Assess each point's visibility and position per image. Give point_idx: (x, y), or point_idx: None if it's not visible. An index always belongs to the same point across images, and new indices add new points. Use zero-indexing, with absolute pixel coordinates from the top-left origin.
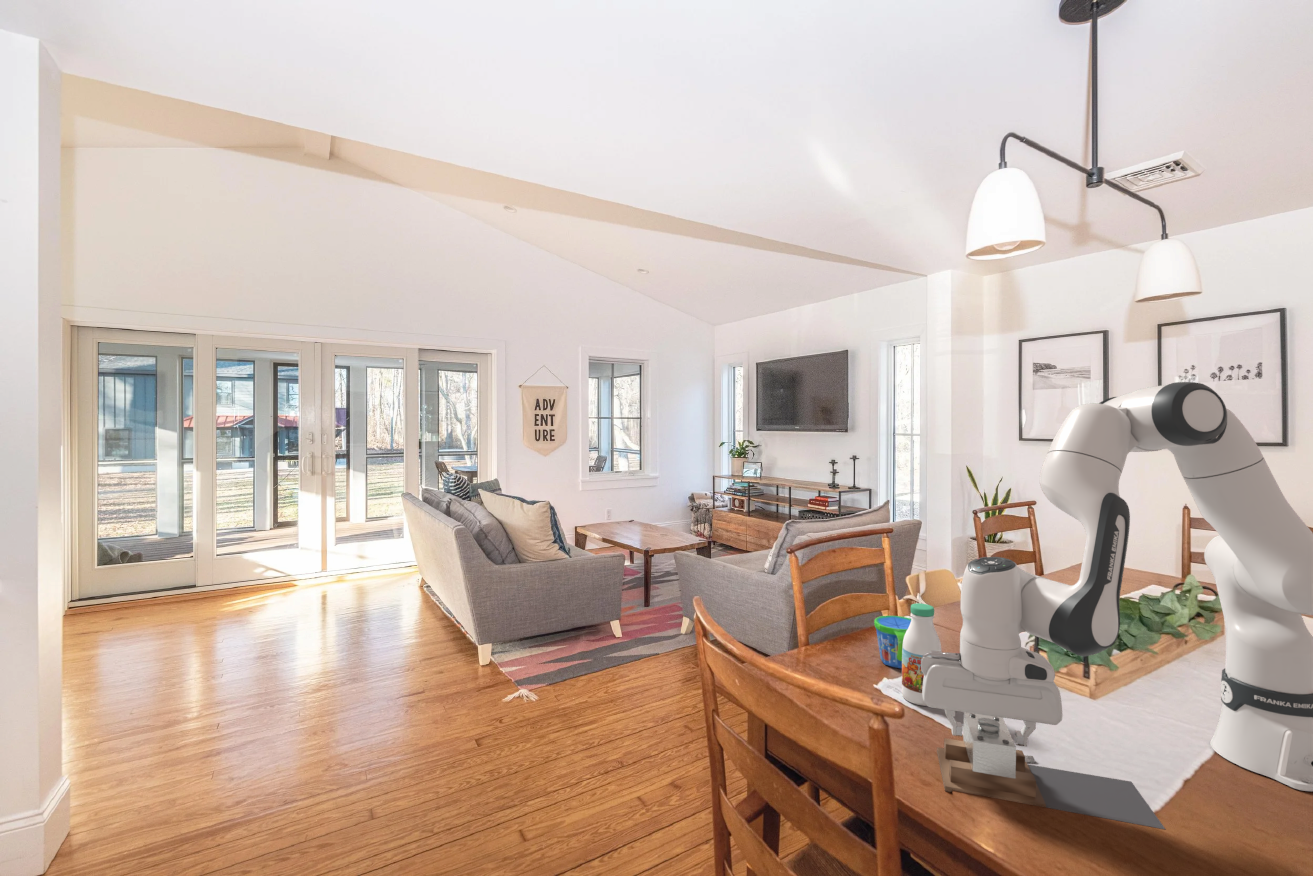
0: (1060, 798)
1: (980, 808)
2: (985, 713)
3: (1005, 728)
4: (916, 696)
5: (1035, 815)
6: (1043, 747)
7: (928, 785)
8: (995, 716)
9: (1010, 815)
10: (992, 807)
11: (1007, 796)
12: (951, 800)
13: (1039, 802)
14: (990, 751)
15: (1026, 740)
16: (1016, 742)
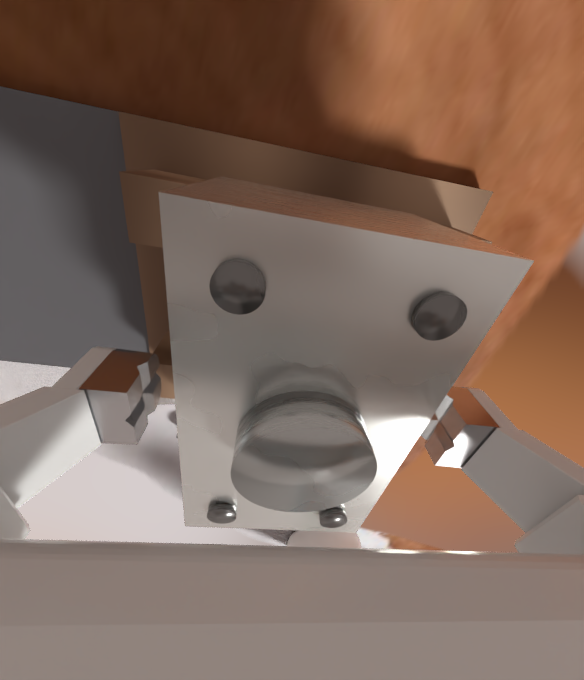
0: (62, 199)
1: (404, 71)
2: (421, 583)
3: (192, 453)
4: (346, 544)
5: (179, 52)
6: (104, 448)
7: (517, 219)
8: (290, 550)
9: (292, 27)
10: (347, 92)
11: (269, 154)
12: (495, 121)
13: (143, 125)
14: (371, 221)
15: (75, 370)
16: (153, 369)
